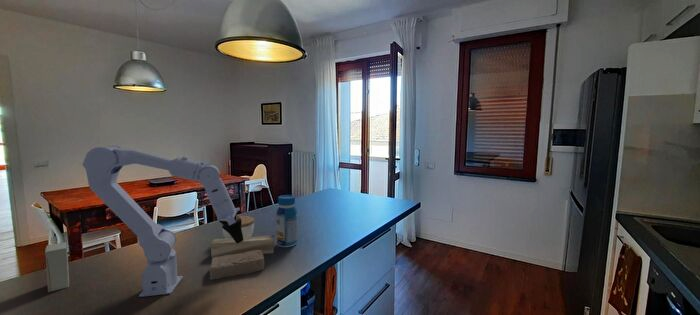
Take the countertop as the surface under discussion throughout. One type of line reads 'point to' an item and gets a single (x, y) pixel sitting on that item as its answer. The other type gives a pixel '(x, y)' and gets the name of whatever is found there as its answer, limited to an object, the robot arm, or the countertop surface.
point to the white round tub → (243, 226)
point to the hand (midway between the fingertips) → (238, 238)
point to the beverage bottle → (286, 221)
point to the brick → (236, 264)
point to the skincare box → (57, 266)
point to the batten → (242, 245)
